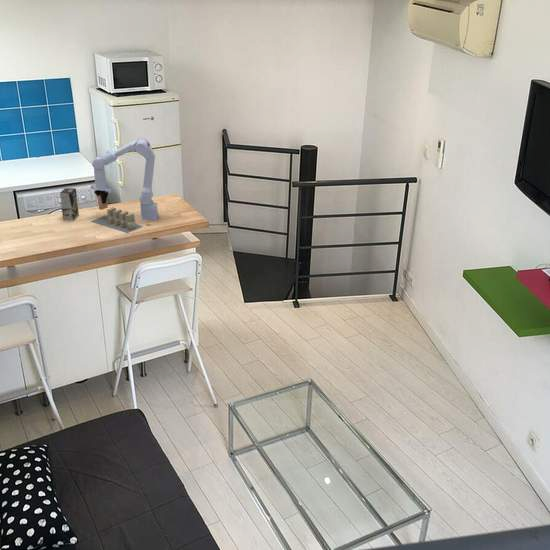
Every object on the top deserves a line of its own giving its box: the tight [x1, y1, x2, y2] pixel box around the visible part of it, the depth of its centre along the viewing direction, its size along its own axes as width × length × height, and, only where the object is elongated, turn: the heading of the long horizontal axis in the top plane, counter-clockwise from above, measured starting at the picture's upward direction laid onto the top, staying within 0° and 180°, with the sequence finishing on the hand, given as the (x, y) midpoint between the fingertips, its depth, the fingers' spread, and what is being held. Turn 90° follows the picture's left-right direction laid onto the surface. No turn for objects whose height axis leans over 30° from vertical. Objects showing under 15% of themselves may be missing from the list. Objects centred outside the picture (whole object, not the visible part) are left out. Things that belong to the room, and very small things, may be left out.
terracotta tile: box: [97, 195, 109, 211], centre depth 343 cm, size 2×4×8 cm, turn 146°
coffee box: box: [59, 187, 80, 222], centre depth 342 cm, size 9×6×16 cm
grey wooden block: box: [113, 209, 123, 226], centre depth 336 cm, size 2×4×8 cm, turn 147°
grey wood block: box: [106, 206, 117, 224], centre depth 339 cm, size 2×4×8 cm, turn 147°
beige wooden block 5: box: [126, 212, 136, 230], centre depth 332 cm, size 2×4×8 cm, turn 147°
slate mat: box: [90, 214, 144, 234], centre depth 339 cm, size 28×12×1 cm, turn 57°
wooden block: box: [119, 210, 129, 228], centre depth 334 cm, size 2×4×8 cm, turn 147°
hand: (102, 203), depth 343 cm, fingers closed on terracotta tile, 1 cm apart
